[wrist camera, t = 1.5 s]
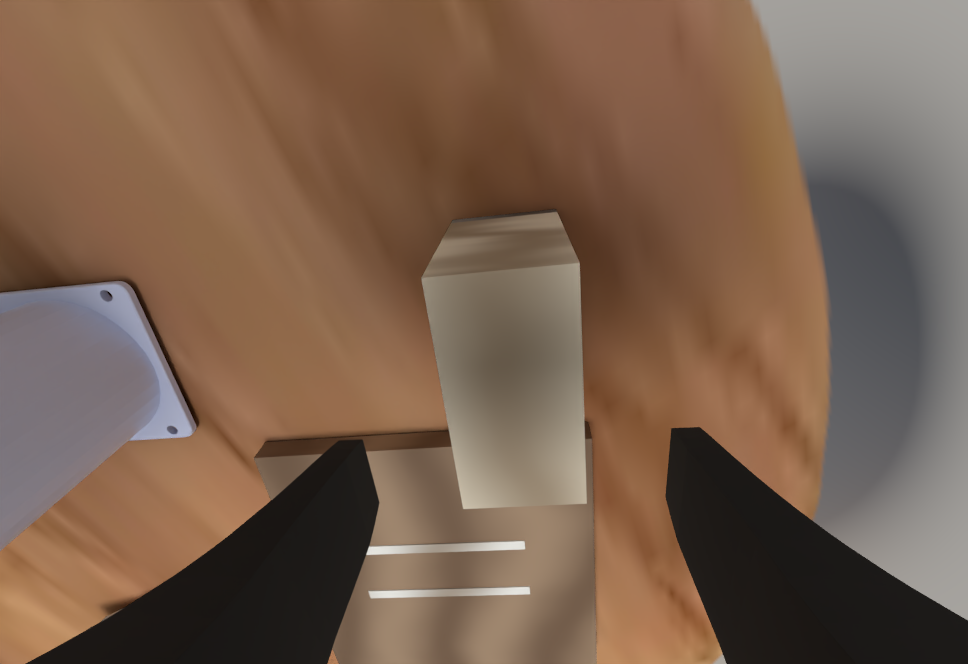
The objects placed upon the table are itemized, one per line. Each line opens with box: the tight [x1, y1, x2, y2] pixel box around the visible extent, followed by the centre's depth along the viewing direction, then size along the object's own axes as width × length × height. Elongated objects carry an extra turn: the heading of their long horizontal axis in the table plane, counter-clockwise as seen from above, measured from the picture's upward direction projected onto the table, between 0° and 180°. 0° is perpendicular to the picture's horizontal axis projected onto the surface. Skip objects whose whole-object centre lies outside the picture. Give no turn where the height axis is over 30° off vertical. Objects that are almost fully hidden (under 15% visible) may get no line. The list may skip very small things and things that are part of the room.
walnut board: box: [254, 422, 597, 664], centre depth 26 cm, size 16×17×1 cm
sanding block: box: [421, 209, 587, 509], centre depth 17 cm, size 4×8×7 cm, turn 7°
